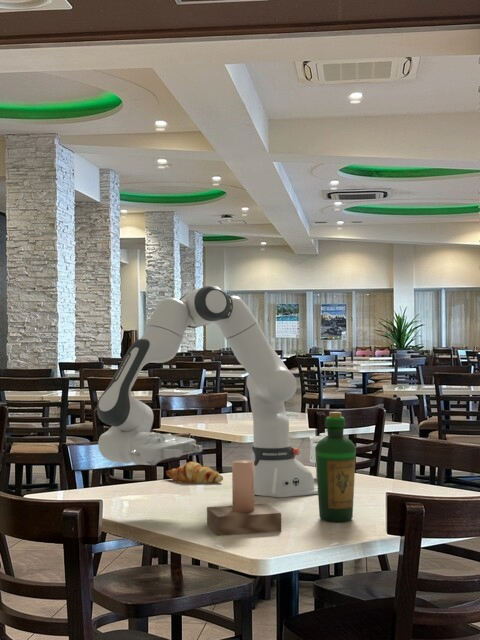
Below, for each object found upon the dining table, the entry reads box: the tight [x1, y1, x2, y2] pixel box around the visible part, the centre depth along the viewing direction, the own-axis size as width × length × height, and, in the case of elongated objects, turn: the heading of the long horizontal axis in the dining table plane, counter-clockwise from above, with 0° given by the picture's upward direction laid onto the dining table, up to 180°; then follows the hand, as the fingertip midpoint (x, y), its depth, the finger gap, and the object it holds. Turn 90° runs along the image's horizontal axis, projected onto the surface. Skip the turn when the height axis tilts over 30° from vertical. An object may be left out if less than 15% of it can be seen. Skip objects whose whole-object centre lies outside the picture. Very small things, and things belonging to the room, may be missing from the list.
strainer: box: [309, 432, 327, 479], centre depth 278 cm, size 7×7×15 cm
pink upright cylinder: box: [231, 459, 255, 512], centre depth 204 cm, size 6×6×12 cm
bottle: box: [315, 411, 357, 523], centre depth 213 cm, size 11×11×28 cm
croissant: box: [165, 461, 224, 484], centre depth 272 cm, size 21×10×8 cm, turn 68°
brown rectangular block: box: [206, 503, 282, 536], centre depth 203 cm, size 16×12×4 cm
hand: (190, 451), depth 215 cm, fingers open, 8 cm apart
